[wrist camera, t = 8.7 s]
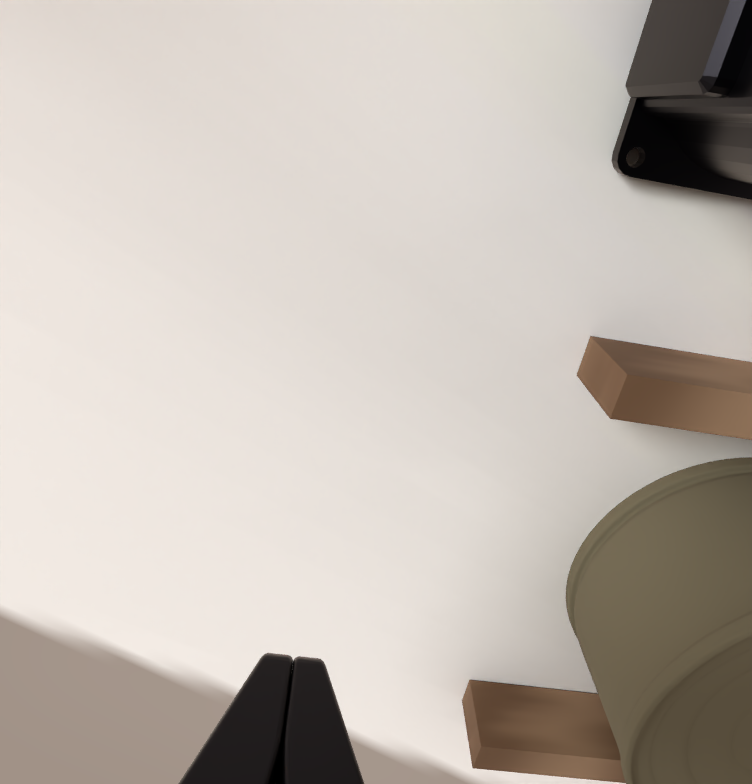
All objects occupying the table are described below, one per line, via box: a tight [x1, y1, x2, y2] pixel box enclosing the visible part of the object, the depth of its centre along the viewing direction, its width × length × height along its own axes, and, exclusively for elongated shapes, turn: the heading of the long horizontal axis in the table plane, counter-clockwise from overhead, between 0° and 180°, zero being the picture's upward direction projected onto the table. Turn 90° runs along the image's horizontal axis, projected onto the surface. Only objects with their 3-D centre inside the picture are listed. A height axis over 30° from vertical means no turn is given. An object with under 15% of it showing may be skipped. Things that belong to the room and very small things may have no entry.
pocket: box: [462, 336, 752, 783], centre depth 21 cm, size 15×18×4 cm
